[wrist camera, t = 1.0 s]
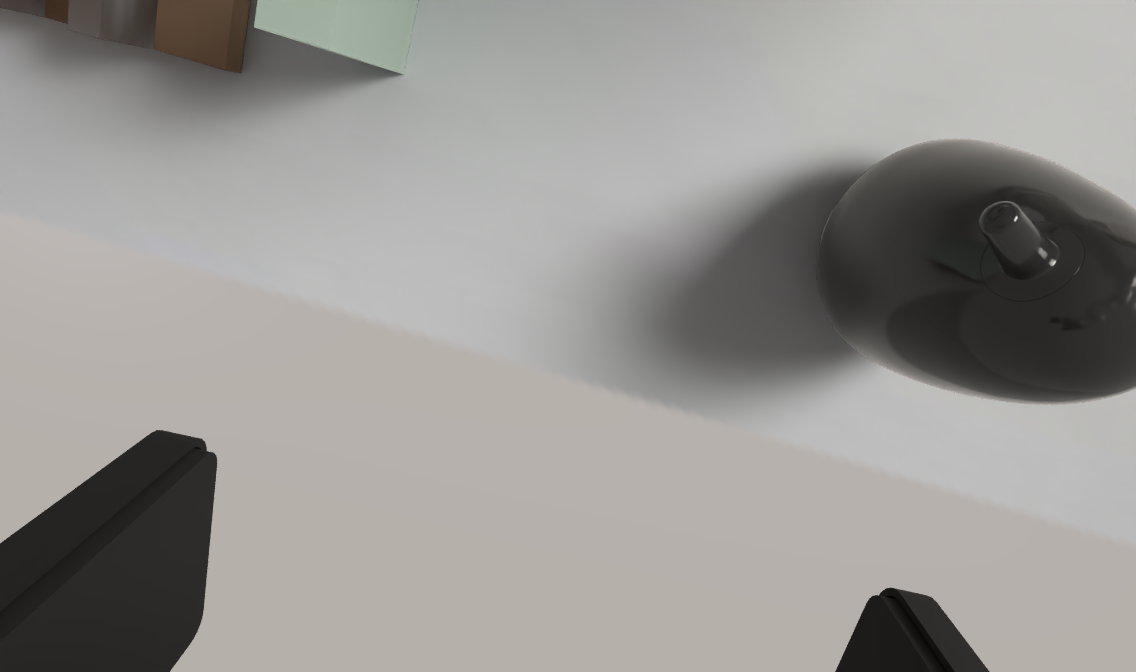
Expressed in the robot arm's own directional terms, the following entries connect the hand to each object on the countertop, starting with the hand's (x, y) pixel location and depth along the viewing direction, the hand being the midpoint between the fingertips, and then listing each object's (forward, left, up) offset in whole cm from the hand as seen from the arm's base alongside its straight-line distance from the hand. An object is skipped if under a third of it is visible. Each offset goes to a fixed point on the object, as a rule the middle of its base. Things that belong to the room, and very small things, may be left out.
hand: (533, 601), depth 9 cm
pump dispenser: (-5, +15, -25) cm, 30 cm away
